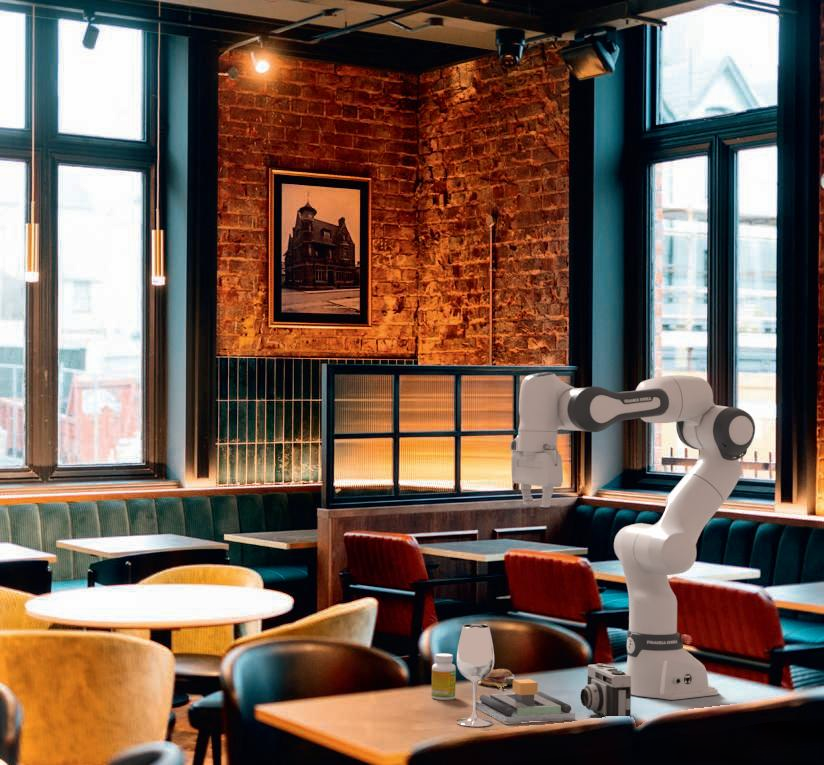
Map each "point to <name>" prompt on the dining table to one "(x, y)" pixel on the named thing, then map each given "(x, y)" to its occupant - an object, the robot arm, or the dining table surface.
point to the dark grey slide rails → (509, 711)
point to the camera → (607, 691)
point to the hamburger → (498, 678)
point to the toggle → (525, 691)
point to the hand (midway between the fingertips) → (536, 505)
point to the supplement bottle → (443, 677)
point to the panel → (525, 709)
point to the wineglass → (475, 664)
